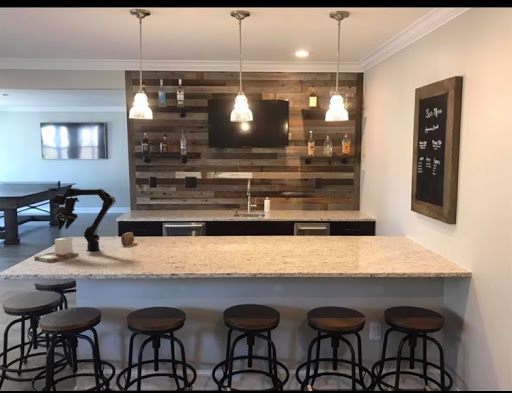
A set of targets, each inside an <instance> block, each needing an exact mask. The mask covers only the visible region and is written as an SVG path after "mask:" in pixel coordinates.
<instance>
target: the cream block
mask: <svg viewBox="0 0 512 393" xmlns="http://www.w3.org/2000/svg"><path fill="white" fill-rule="evenodd" d="M54 252H55V254H60V255H63V254H67V253H72V252H74V251H73V237H61V238H55V239H54Z"/></svg>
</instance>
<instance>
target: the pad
mask: <svg viewBox="0 0 512 393" xmlns="http://www.w3.org/2000/svg"><path fill="white" fill-rule="evenodd" d="M51 257H56V256H50V255H46V256H42V257H39V260H38V261H40V262H45V263H48V262H47V258H51Z"/></svg>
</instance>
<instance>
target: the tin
mask: <svg viewBox="0 0 512 393" xmlns="http://www.w3.org/2000/svg"><path fill="white" fill-rule="evenodd" d="M120 241H121V245H122V246H124V247H125V246H126V247H128V246H130V245H132V244H133V243H134V241H135V234H134V232H132V231H129V232H125V233H123V234H122V235H121V237H120Z"/></svg>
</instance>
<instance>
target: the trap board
mask: <svg viewBox="0 0 512 393" xmlns="http://www.w3.org/2000/svg"><path fill="white" fill-rule="evenodd" d="M46 255H50V256H56V257H51V258H47V262H46V263H56V262H60V261H64V260H68V259H71V258H72V259H73V258H76V257H79V252H74V251H73V252H72V253H67V254H63V255H60V254H55V251H53V252H47V253H44V254H39V255H35V256H33V257H34V260H35V261H39V257H42V256H46Z"/></svg>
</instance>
